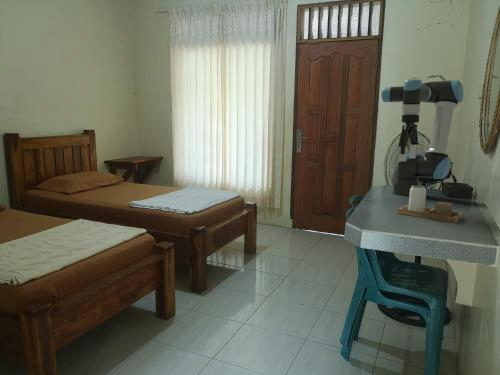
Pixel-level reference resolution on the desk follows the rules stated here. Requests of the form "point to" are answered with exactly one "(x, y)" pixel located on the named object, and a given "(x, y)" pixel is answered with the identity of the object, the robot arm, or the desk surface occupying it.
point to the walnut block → (444, 208)
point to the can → (417, 198)
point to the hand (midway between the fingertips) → (407, 159)
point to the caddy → (430, 214)
